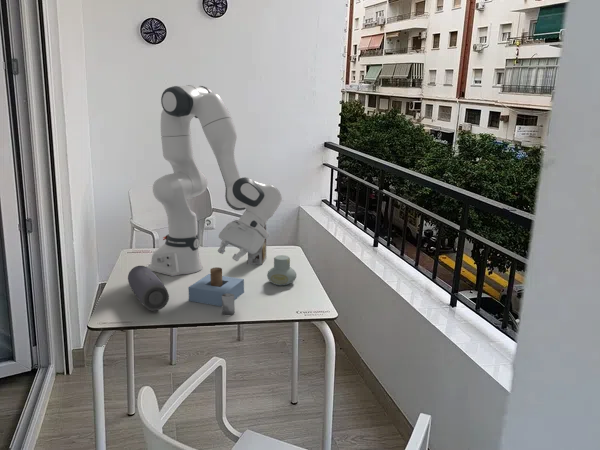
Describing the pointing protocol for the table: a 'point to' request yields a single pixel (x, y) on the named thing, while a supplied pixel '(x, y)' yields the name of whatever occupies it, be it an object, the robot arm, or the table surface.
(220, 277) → the long pin
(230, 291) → the collar block
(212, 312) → the table surface
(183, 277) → the table surface
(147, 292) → the bluetooth speaker
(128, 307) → the table surface
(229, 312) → the short pin
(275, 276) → the air freshener
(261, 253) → the coffee box
